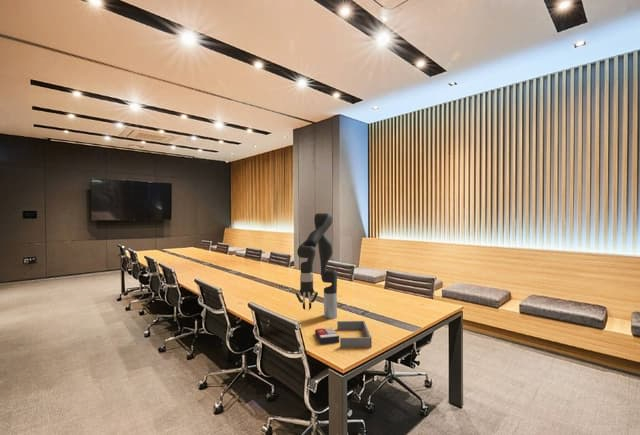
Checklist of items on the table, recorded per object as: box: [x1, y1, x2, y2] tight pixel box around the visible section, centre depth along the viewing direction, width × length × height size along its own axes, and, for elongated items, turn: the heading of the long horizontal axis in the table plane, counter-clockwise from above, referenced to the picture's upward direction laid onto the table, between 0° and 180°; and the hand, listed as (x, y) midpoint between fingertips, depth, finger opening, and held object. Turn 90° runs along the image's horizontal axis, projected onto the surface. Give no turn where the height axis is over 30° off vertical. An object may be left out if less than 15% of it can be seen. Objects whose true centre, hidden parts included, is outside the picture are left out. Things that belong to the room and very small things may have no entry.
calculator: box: [314, 327, 340, 345], centre depth 176 cm, size 11×4×15 cm
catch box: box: [336, 320, 373, 349], centre depth 176 cm, size 26×17×5 cm, turn 0°
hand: (307, 309), depth 176 cm, fingers open, 2 cm apart
